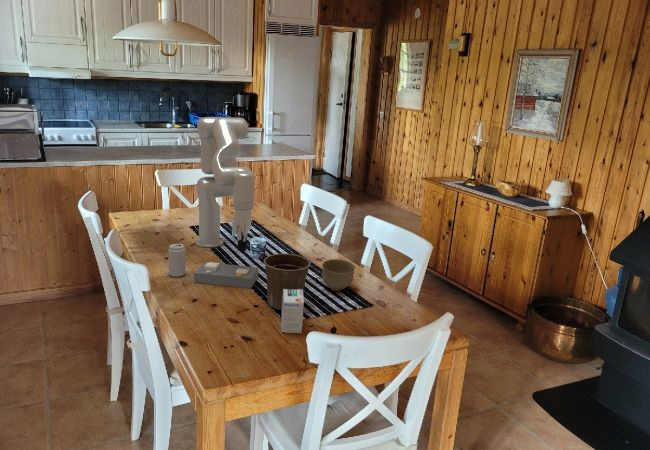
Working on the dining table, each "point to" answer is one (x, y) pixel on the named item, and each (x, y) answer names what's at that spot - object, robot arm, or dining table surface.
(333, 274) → the bowl
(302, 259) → the plant pot
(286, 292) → the light bulb box
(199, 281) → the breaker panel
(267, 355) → the dining table surface
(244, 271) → the block
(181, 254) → the beverage can
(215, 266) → the block
